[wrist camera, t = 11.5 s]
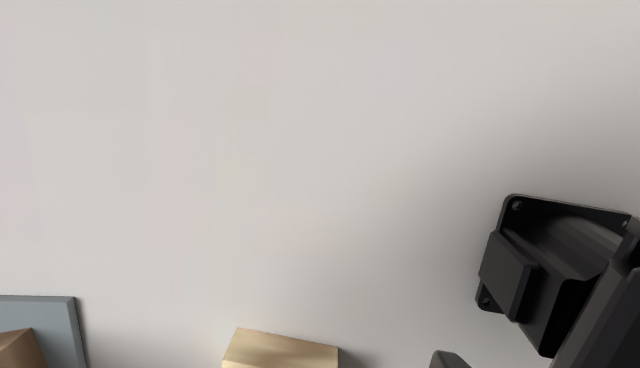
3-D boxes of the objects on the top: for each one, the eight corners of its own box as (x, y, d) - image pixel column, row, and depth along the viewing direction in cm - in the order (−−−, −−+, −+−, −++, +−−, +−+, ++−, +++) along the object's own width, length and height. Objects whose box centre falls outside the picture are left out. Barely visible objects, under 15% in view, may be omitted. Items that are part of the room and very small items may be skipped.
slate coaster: (73, 297, 23) (66, 302, 23) (94, 409, 25) (88, 417, 25) (-55, 294, 24) (-66, 299, 23) (-25, 404, 26) (-33, 412, 25)
